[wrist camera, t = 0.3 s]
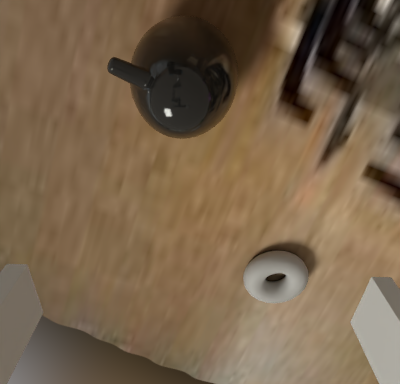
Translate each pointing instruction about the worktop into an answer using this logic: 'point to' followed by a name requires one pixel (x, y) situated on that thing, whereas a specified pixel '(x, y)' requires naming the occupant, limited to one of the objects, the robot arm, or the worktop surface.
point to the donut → (272, 265)
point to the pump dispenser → (181, 76)
